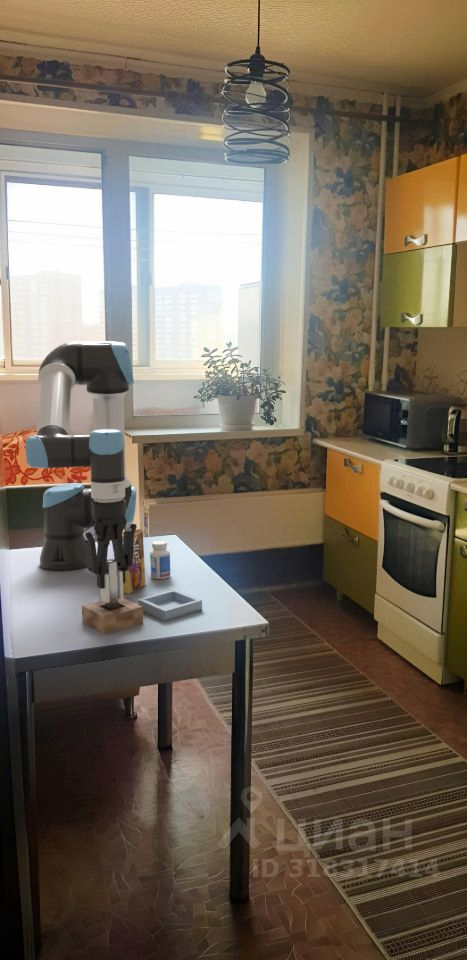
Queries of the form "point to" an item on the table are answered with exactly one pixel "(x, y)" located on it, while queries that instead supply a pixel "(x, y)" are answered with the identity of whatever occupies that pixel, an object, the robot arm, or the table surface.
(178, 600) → the tray
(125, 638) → the table surface
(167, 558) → the pill bottle
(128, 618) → the bore block
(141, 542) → the candy box
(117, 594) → the cylinder
